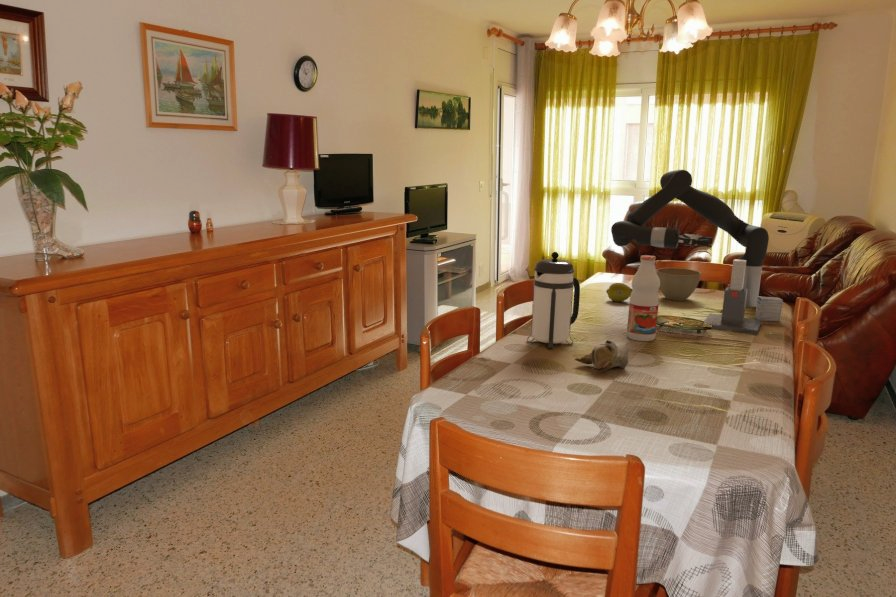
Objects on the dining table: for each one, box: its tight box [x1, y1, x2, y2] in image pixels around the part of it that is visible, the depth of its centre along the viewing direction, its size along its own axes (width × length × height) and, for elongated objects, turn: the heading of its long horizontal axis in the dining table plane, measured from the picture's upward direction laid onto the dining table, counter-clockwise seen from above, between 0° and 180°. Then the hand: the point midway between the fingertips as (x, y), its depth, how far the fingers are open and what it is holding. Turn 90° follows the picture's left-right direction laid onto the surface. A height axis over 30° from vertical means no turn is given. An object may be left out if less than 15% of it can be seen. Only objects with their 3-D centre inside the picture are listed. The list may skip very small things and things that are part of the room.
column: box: [729, 258, 746, 292], centre depth 237 cm, size 4×4×22 cm
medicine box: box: [754, 296, 784, 322], centre depth 248 cm, size 8×4×9 cm, turn 84°
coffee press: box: [526, 251, 581, 350], centre depth 209 cm, size 17×16×30 cm
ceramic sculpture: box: [574, 340, 630, 373], centre depth 187 cm, size 11×9×15 cm
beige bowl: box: [656, 267, 702, 302], centre depth 282 cm, size 18×18×12 cm
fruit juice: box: [626, 254, 660, 342], centre depth 217 cm, size 9×9×28 cm
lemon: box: [605, 282, 632, 303], centre depth 274 cm, size 11×8×8 cm
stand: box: [703, 286, 762, 335], centre depth 238 cm, size 18×18×14 cm
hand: (710, 241), depth 238 cm, fingers open, 8 cm apart
